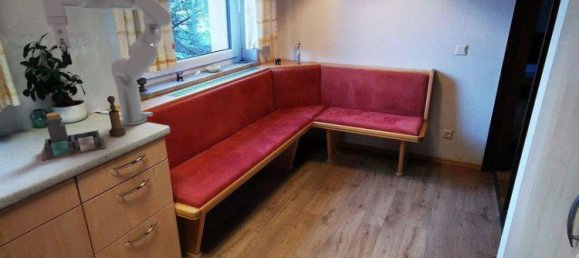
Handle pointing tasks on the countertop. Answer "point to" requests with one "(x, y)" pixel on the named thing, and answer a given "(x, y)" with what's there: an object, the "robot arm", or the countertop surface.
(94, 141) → the socket block
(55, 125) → the bottle
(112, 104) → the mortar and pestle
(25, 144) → the countertop surface
